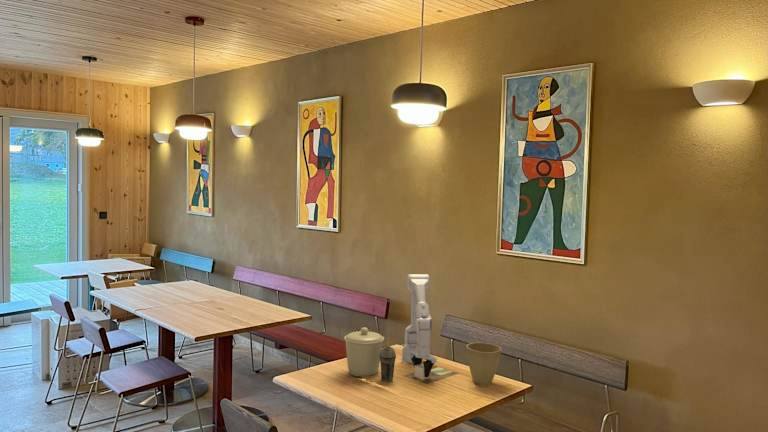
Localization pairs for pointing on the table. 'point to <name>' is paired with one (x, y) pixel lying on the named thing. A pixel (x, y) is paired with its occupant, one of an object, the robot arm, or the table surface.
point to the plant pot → (483, 362)
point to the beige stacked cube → (420, 372)
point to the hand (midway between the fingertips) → (422, 375)
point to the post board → (433, 375)
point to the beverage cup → (387, 362)
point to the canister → (363, 352)
